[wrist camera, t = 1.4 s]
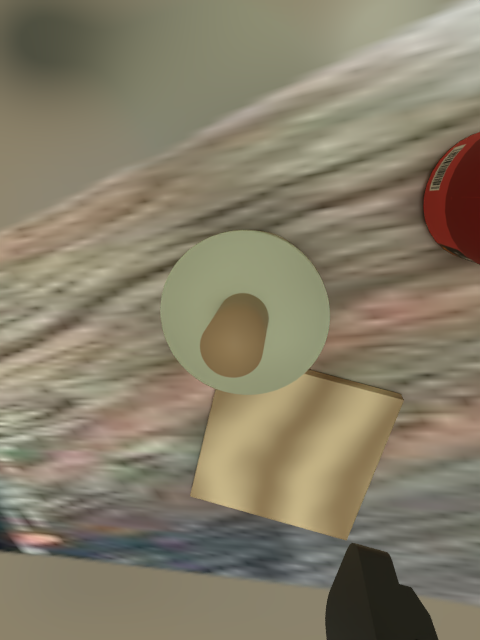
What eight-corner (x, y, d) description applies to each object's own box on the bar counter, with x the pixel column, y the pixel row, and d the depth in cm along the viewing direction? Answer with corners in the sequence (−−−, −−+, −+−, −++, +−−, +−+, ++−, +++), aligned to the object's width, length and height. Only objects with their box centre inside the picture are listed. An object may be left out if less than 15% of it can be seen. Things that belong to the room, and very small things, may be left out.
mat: (400, 393, 31) (403, 400, 30) (345, 531, 36) (346, 540, 35) (226, 348, 32) (224, 352, 31) (192, 488, 36) (190, 496, 35)
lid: (350, 253, 23) (370, 272, 17) (302, 405, 26) (305, 463, 20) (181, 211, 23) (145, 215, 18) (153, 365, 26) (115, 411, 21)
